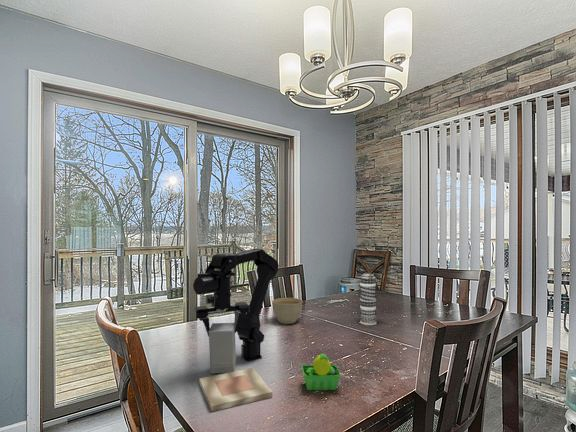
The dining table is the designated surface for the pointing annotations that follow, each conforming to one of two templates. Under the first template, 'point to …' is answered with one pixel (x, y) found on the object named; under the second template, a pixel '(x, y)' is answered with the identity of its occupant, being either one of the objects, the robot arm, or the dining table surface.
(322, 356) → the fruit basket
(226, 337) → the skincare box
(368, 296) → the decorative candle
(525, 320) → the dining table surface
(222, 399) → the birch base
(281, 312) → the planter bowl
